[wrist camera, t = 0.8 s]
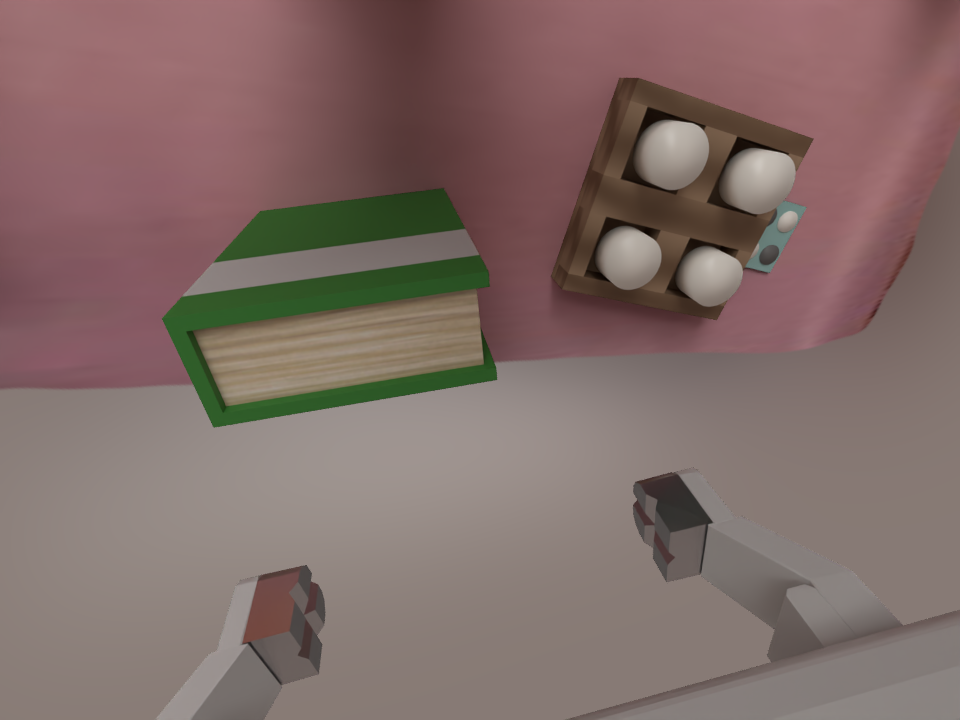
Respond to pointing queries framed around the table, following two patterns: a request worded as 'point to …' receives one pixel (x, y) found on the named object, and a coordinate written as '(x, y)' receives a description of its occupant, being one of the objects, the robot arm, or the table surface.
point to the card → (775, 236)
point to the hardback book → (335, 309)
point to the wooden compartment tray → (665, 195)
